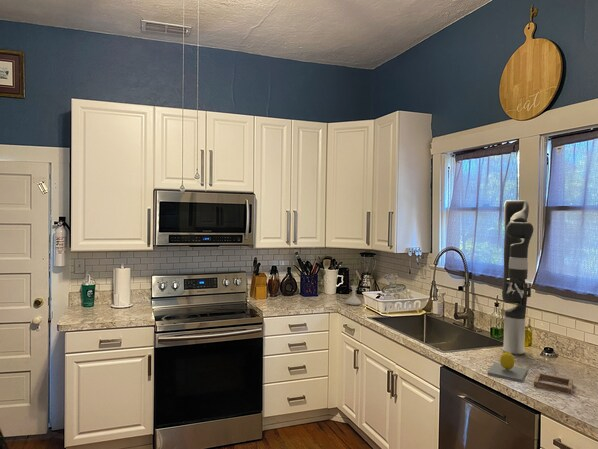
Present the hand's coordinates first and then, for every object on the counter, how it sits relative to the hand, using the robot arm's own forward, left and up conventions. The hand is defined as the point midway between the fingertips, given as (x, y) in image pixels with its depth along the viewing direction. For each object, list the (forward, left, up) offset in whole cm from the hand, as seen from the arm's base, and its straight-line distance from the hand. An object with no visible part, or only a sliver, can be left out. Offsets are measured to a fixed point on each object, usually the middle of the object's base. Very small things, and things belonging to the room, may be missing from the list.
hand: (516, 304), depth 192 cm
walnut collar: (+14, +16, -28) cm, 35 cm away
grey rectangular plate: (+10, -1, -28) cm, 30 cm away
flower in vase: (-78, -119, -28) cm, 145 cm away
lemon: (+10, -1, -27) cm, 29 cm away
